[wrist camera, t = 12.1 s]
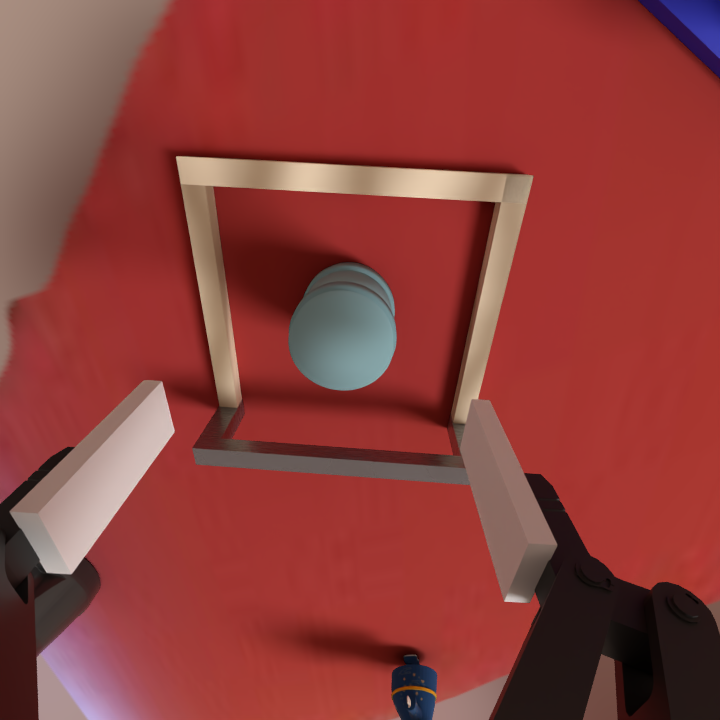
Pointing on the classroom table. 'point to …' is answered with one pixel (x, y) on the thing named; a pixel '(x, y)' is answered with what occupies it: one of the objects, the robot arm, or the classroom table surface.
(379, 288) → the grooved blue cylinder
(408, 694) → the figurine
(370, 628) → the classroom table surface
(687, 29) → the mount
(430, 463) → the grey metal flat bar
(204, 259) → the shelf frame
